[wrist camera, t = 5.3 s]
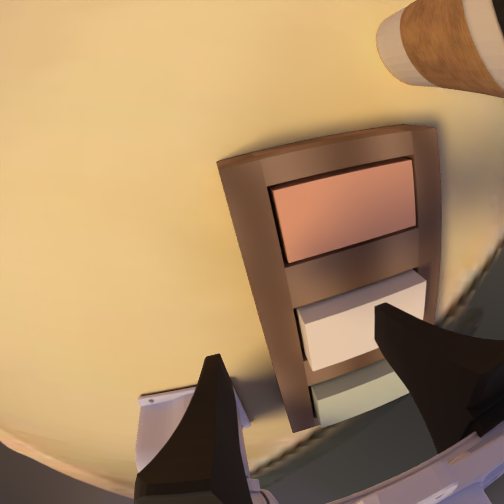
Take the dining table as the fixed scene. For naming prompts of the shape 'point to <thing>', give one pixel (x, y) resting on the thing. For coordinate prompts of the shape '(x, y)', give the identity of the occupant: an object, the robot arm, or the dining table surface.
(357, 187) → the terracotta button
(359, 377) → the sage button
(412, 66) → the coffee cup
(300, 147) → the button board
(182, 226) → the dining table surface
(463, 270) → the dining table surface
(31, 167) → the dining table surface
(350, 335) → the cream button
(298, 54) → the dining table surface
